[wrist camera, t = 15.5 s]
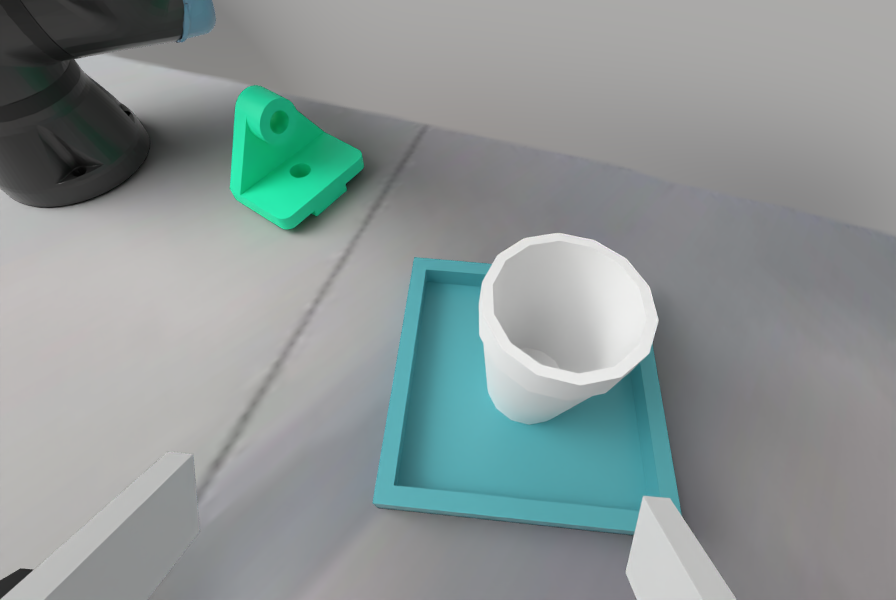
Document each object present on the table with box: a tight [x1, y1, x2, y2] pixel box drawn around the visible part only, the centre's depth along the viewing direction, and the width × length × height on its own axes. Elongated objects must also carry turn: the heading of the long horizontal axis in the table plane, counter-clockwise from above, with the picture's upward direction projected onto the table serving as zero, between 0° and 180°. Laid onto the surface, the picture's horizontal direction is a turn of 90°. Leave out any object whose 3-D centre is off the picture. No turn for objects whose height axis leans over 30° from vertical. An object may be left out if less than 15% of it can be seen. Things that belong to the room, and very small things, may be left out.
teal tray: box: [373, 257, 682, 535], centre depth 34 cm, size 20×20×3 cm
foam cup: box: [479, 233, 659, 425], centre depth 28 cm, size 10×9×13 cm
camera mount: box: [230, 85, 364, 229], centre depth 42 cm, size 12×8×10 cm, turn 145°
